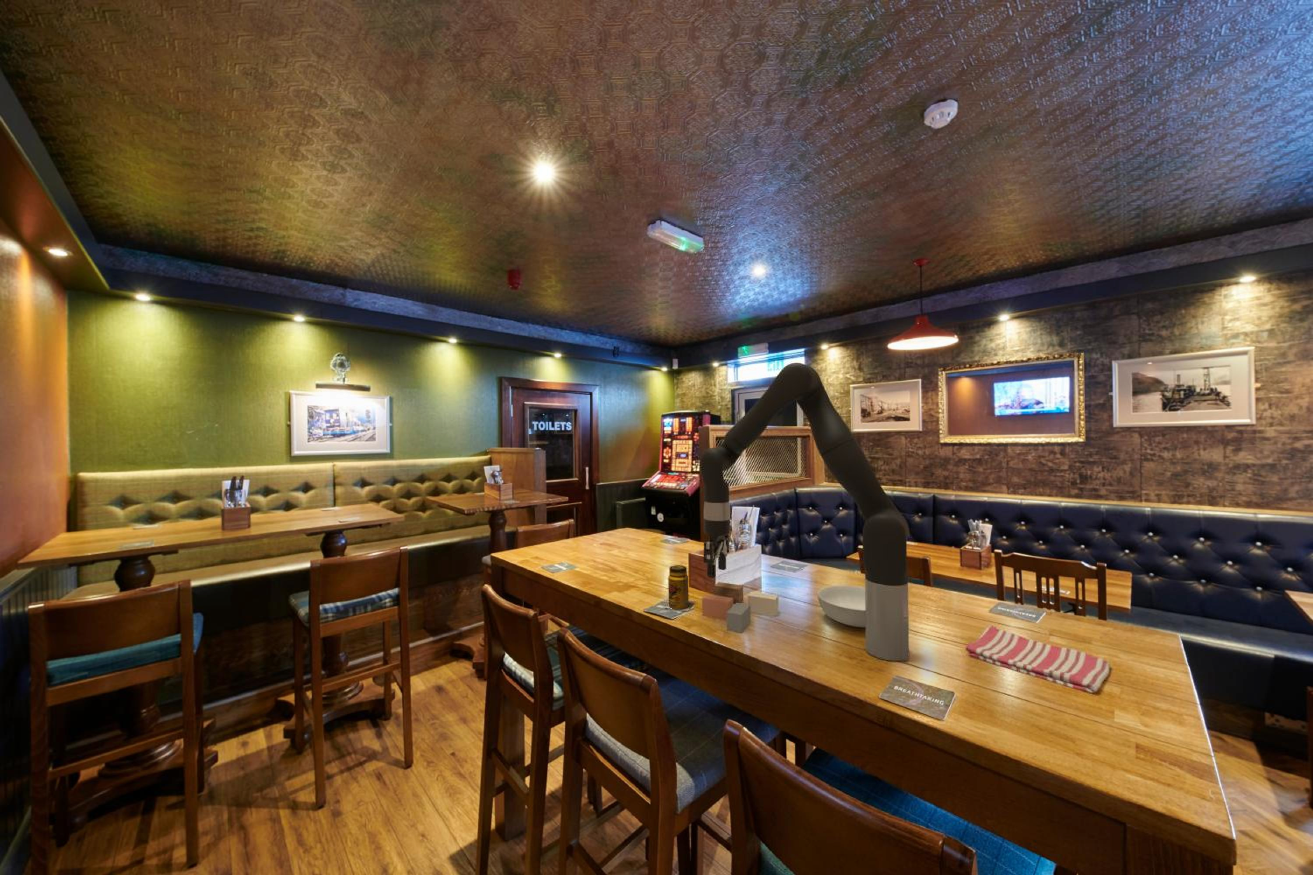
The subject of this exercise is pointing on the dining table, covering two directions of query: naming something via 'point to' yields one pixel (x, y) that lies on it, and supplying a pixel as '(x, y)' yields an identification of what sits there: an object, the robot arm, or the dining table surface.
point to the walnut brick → (729, 591)
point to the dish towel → (1040, 659)
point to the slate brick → (738, 617)
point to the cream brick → (764, 603)
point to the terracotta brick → (716, 606)
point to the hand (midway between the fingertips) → (717, 573)
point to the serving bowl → (844, 604)
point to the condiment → (678, 588)
